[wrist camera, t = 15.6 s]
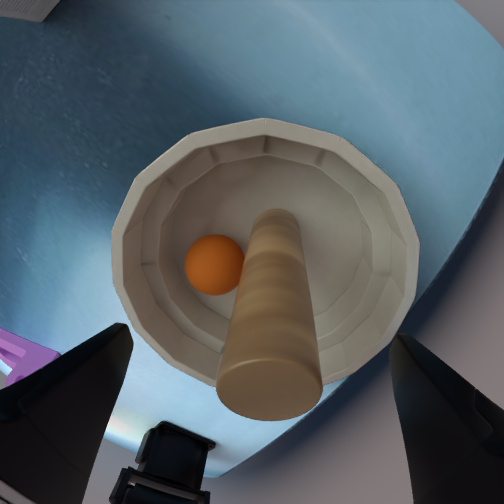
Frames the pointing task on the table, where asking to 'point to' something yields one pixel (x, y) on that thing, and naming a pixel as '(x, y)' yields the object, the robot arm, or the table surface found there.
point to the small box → (27, 9)
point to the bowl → (239, 229)
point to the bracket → (23, 356)
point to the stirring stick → (271, 328)
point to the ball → (214, 264)
